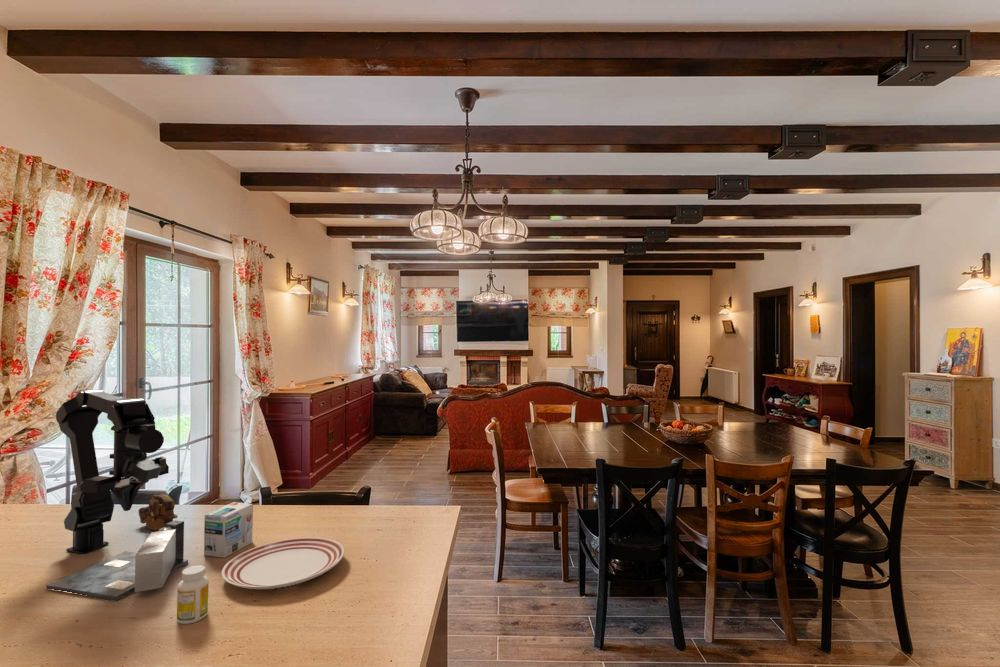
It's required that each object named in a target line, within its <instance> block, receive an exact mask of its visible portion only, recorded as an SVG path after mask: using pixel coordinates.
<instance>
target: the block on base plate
mask: <svg viewBox="0 0 1000 667" xmlns="http://www.w3.org/2000/svg"><path fill="white" fill-rule="evenodd" d="M166 527H171V530H173V529H176V554H175V563H174V565H173V567H172V569H171V571H170V573H169V574H171V573H173V572H175V571H177V570H179V569H180V568H183V567H186V565H188V564H189V559H185V558H184V552H185V551H184V550H185V546H184V545H185V543H184V542H185V541H184V540H185V537H184V536H185V535H184V534H185V521H184V520H183V521H182V520H174V519H173V521H172V522H169V523H167V524H166ZM136 554H137V552H135V551H134V552H133V551H123V552H120V553H118V554H116V555H113V556H110V557H109V558H107V559H104V560H102V561H99V562H96V563H94V564H92V565H90V566H88V567H85V568H83V569H80V570H78V571H75V572H73V573H72V574H69V575H65V577H62V578H60V579H58V580H55V581H53V582H52V581H51V583H47V584H46V585H45V586H46V587H45V588H47V589H54V590H61V591H67V592H72V593H77V594H82V595H87V596H86V597H88V596H91V597H90V598H94V597H96V599H100V598H101V599H102V600H107V601H113V602H117V601H119V600H121V599H123V598H125V597H127V596H129V595H131V594H133V593H136V592H135V555H136ZM82 595H81V596H82Z"/></svg>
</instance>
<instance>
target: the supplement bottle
mask: <svg viewBox="0 0 1000 667" xmlns="http://www.w3.org/2000/svg"><path fill="white" fill-rule="evenodd" d="M205 574H206V567H205V565H201V564H200V565H199V564H198V565H192V566H189V567H186V568H185V569H183V570H182V571H181V579H182V580H181V581H180V582H179V583H178V585H177V596H176V600H177V601H176V602H177V603H176V621H177V623H178V624H181V625H191V624H194V623H196V622H199V621H201V620H202V619H203V618H205V617H206V616H207V614H208V612H209V584H210V583H209V578H208V576H206V575H205Z"/></svg>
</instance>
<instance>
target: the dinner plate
mask: <svg viewBox="0 0 1000 667" xmlns="http://www.w3.org/2000/svg"><path fill="white" fill-rule="evenodd" d="M344 556H345V547H344V546H343V545H342V543H340V542H338V541H336V540H333V539H330V538H326V537H318V536H317V537H314V536H313V537H311V536H310V537H309V536H308V537H307V536H305V537H304V536H303V537H293V538H285V539H280V540H275V541H271V542H267V543H264V544H260V545H258V546H257V545H256V546H255V547H252V548H250V549H247V550H245V551H243V552H241V553H239V554H237V555H236V556H233V558H232V559H229V560H228V561H227V562H226V563H225V564H224V566H223V567H222V570H221V577H222V580H224V581H225V583H228V584H231V585H232V586H235V587H238V588H243V589H250V590H273V589H275V588H277V589H282V588H281V587H284V588H288V587H287V586H289V587H292V586H291V585H293V586H296V585H300V584H302V583H304V582H307V581H310V580H312V579H314V578H317V577H319V576H322V575H323V574H324V573H326V572H329V571H330V570H331V569H333V568H334V567H336V566H337V565H338V564H339V562H341V561H342V559H343V557H344ZM295 584H296V585H295Z"/></svg>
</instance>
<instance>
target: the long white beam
mask: <svg viewBox="0 0 1000 667" xmlns="http://www.w3.org/2000/svg"><path fill="white" fill-rule="evenodd" d="M136 553H137V554H136V555H135V592H134V593H138V592H145V591H151V590H156V589H162V588H163V586H165V583H166V581H167V580H168V577H169V575H170V574H171V573H170V571H171V569H172V567H173V565H174V563H175V554H176V529H173V530H171V527H163V528H160V529H159V530H157V531H152V532H150V534H149V535H148V537H147V538H146V540H145V541H144V542H143V544H142V545H141V546H140V548H139V549H138V551H137V552H136Z"/></svg>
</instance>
